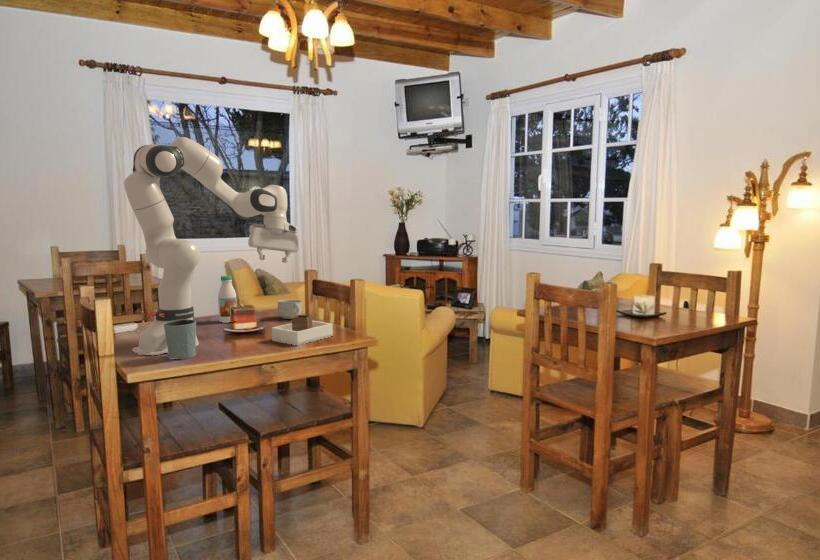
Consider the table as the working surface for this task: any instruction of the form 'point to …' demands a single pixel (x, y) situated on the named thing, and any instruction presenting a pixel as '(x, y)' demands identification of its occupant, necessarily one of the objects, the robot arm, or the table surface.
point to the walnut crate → (301, 322)
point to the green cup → (181, 338)
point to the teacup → (289, 308)
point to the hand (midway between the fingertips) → (273, 261)
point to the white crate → (302, 333)
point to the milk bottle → (226, 299)
